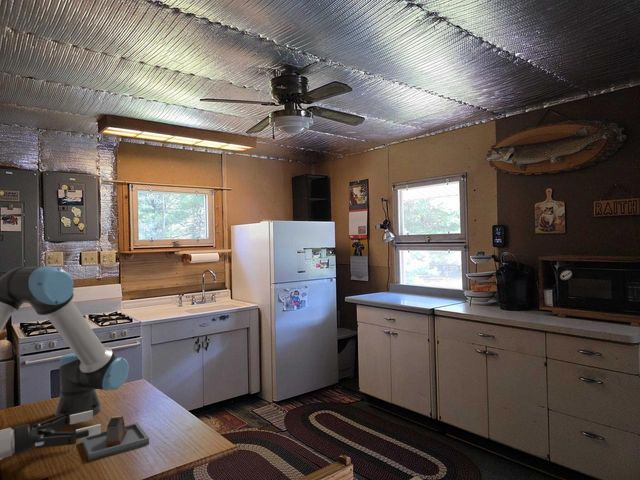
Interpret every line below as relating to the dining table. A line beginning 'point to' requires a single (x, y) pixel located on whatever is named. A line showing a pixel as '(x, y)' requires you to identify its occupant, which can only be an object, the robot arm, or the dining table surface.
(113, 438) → the electronic device
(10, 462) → the dining table surface
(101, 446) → the dock tray
